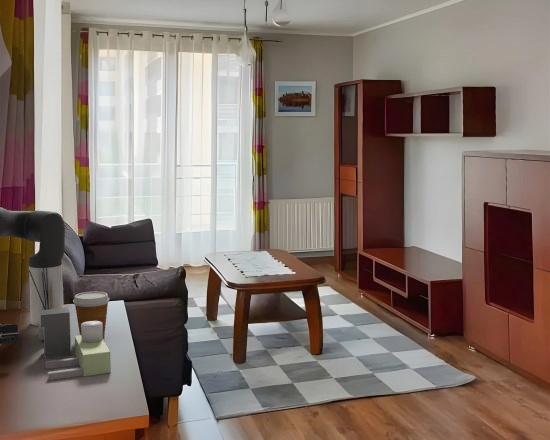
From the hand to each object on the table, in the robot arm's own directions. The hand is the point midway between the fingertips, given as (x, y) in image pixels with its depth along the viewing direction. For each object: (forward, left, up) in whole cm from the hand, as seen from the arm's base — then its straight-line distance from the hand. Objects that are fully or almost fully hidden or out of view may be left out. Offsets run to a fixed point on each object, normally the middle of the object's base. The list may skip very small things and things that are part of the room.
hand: (18, 332), depth 154 cm
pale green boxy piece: (+11, +12, -7) cm, 18 cm away
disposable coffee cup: (-10, +19, -7) cm, 22 cm away
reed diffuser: (-14, +7, -7) cm, 17 cm away
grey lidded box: (0, +9, -7) cm, 11 cm away
